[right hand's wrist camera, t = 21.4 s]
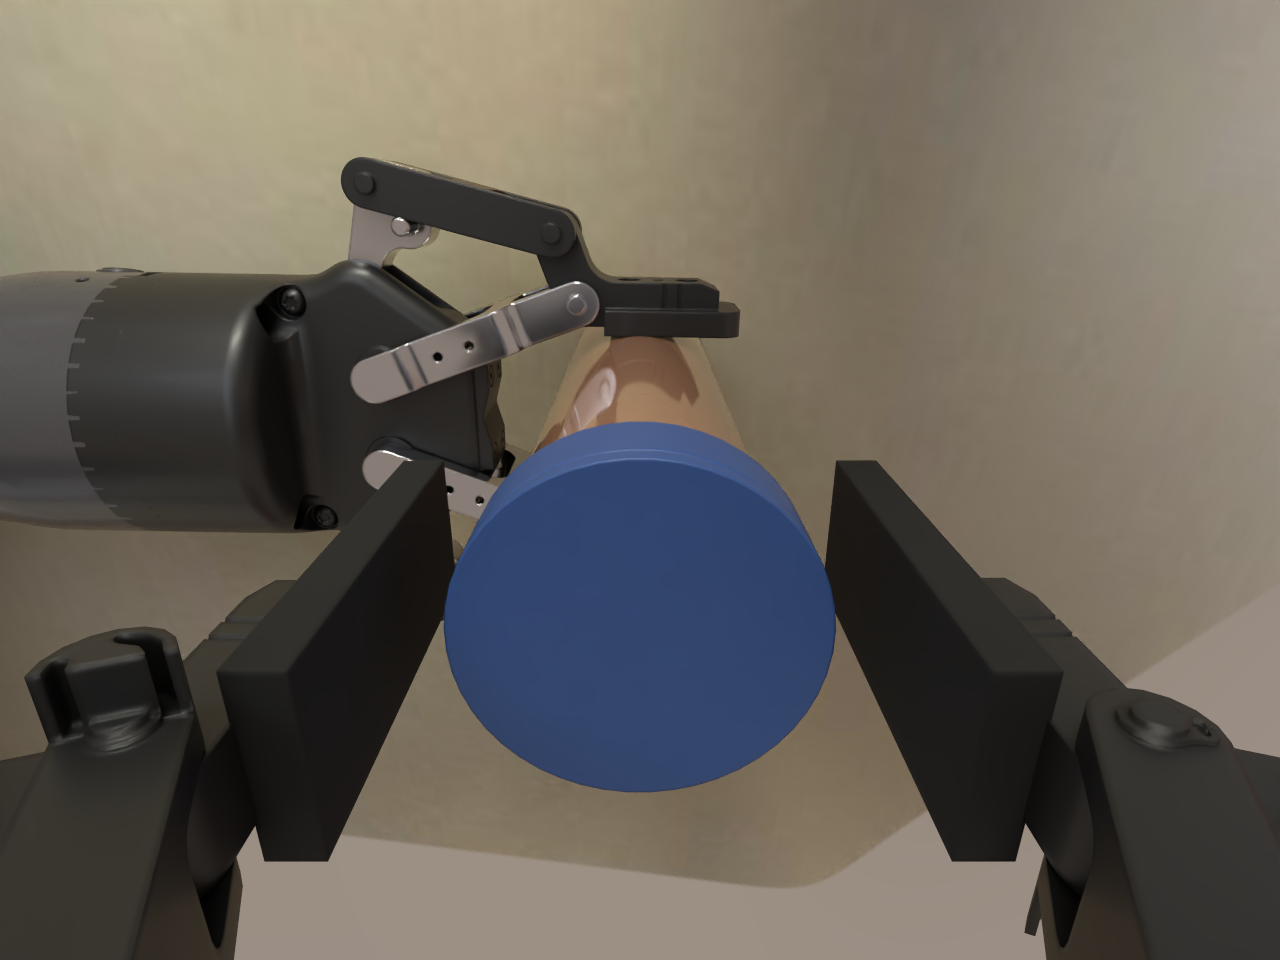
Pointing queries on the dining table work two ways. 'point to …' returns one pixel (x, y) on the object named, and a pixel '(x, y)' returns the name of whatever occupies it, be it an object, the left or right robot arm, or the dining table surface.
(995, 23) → the dining table surface
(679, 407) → the jar
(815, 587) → the lid
